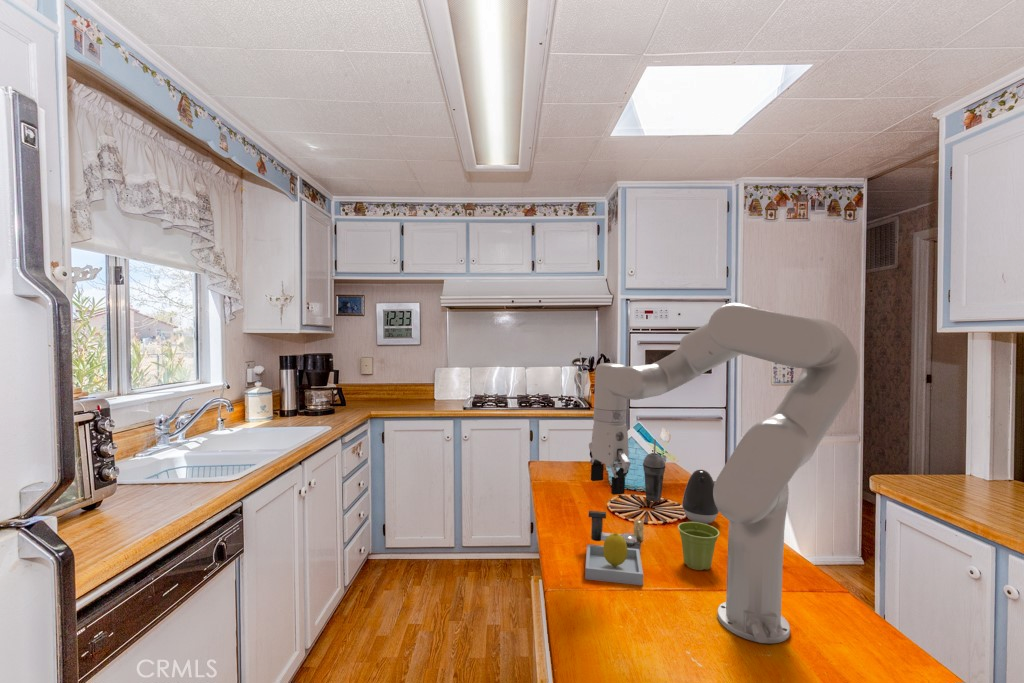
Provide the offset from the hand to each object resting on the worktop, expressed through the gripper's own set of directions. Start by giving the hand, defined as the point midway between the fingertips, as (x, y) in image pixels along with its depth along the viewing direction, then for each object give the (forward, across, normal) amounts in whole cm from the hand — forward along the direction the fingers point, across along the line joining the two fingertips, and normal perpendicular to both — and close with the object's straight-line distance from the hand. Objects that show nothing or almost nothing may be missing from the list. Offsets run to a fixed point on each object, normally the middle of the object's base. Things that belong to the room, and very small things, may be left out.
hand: (606, 486), depth 118 cm
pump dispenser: (+19, +15, -41) cm, 48 cm away
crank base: (+19, +7, -12) cm, 23 cm away
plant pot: (+19, -7, -22) cm, 29 cm away
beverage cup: (+19, +34, -38) cm, 55 cm away
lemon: (+18, -3, -1) cm, 19 cm away
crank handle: (+16, +7, -6) cm, 19 cm away
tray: (+19, -3, -1) cm, 19 cm away
